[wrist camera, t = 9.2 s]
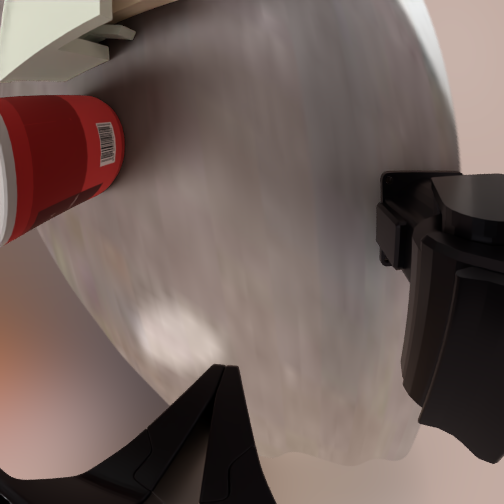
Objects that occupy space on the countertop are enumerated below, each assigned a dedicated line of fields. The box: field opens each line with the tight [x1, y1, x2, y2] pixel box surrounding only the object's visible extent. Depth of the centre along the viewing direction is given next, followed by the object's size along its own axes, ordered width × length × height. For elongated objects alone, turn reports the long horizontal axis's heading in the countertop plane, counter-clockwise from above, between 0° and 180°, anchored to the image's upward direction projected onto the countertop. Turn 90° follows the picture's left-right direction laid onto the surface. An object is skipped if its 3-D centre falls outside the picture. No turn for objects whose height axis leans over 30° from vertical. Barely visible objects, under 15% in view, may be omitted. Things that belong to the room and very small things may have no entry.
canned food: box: [0, 95, 125, 247], centre depth 14 cm, size 8×8×11 cm
